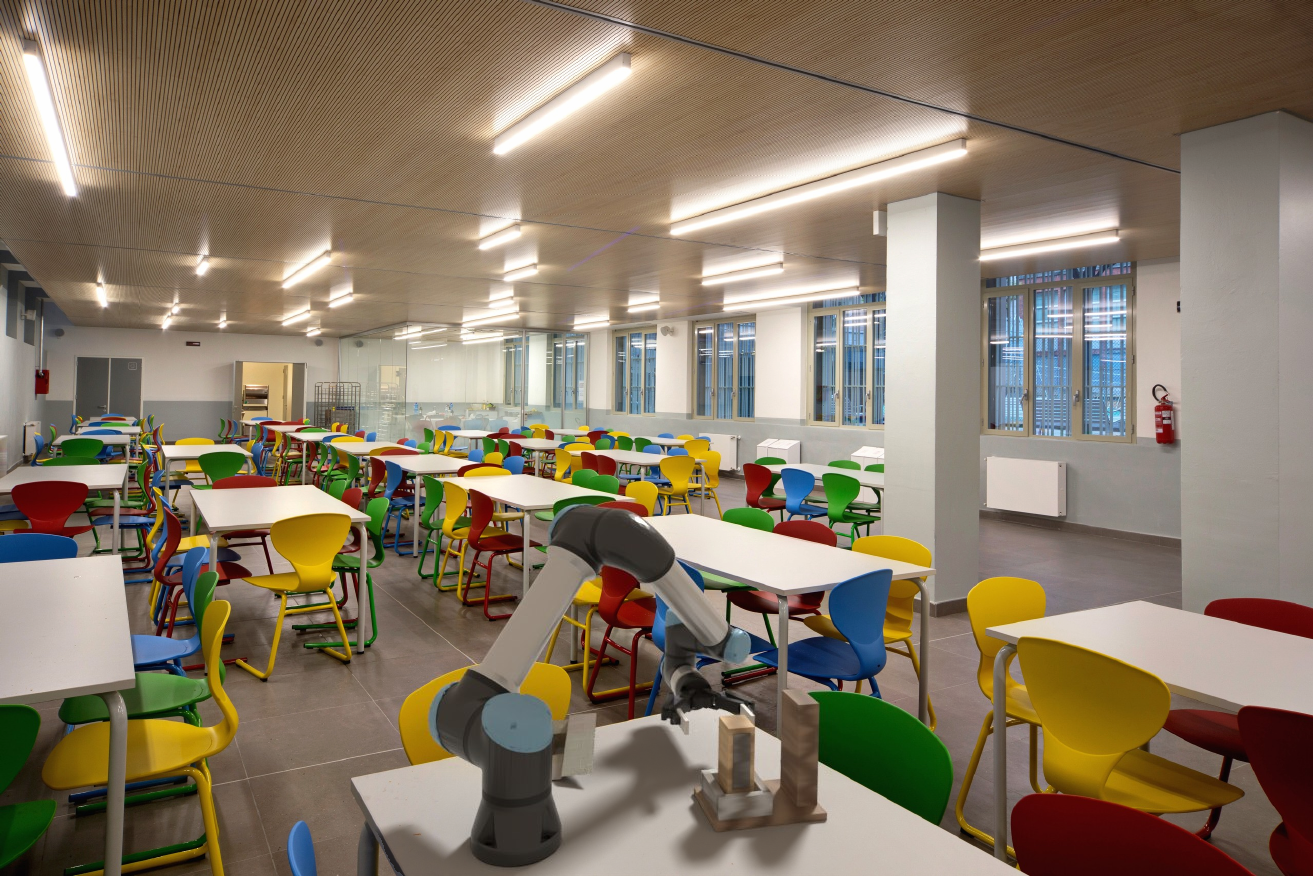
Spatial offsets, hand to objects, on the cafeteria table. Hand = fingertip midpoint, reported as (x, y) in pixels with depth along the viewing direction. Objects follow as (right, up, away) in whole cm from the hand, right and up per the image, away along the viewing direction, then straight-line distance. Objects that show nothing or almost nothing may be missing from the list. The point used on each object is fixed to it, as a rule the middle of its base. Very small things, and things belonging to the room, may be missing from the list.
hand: (720, 725), depth 150 cm
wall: (-33, -12, +6) cm, 35 cm away
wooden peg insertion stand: (+6, -12, -8) cm, 16 cm away
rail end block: (+2, -11, -9) cm, 14 cm away
